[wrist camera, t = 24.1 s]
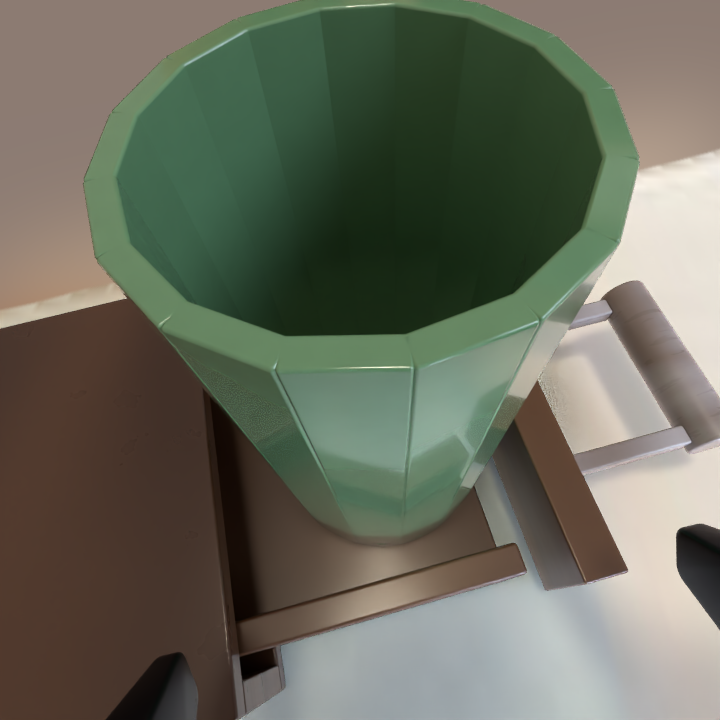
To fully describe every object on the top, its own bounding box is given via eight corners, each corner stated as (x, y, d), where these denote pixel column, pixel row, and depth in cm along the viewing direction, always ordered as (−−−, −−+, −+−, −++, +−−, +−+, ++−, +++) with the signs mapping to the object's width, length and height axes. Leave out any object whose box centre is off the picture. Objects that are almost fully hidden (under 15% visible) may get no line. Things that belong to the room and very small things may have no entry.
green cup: (380, 593, 15) (337, 528, 4) (252, 449, 17) (-7, 148, 6) (512, 448, 17) (747, 115, 6) (379, 337, 19) (358, -51, 8)
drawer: (587, 271, 21) (622, 208, 18) (747, 532, 16) (838, 510, 13) (101, 393, 20) (43, 348, 16) (99, 721, 15) (13, 752, 11)
